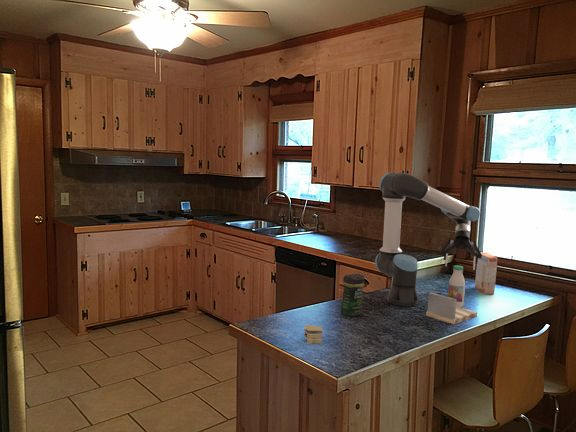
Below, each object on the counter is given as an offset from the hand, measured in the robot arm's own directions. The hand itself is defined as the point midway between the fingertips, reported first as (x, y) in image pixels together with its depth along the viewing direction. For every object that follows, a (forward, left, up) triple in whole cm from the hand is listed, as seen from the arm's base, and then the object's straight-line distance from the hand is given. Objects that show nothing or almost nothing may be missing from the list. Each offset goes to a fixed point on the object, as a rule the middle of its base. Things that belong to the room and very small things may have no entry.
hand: (459, 266), depth 241 cm
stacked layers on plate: (-82, -58, -19) cm, 102 cm away
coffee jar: (-60, -25, -18) cm, 68 cm away
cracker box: (+25, +20, -18) cm, 37 cm away
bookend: (-21, -30, -16) cm, 40 cm away
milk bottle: (-4, -8, -18) cm, 20 cm away
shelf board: (-13, -25, -18) cm, 34 cm away
